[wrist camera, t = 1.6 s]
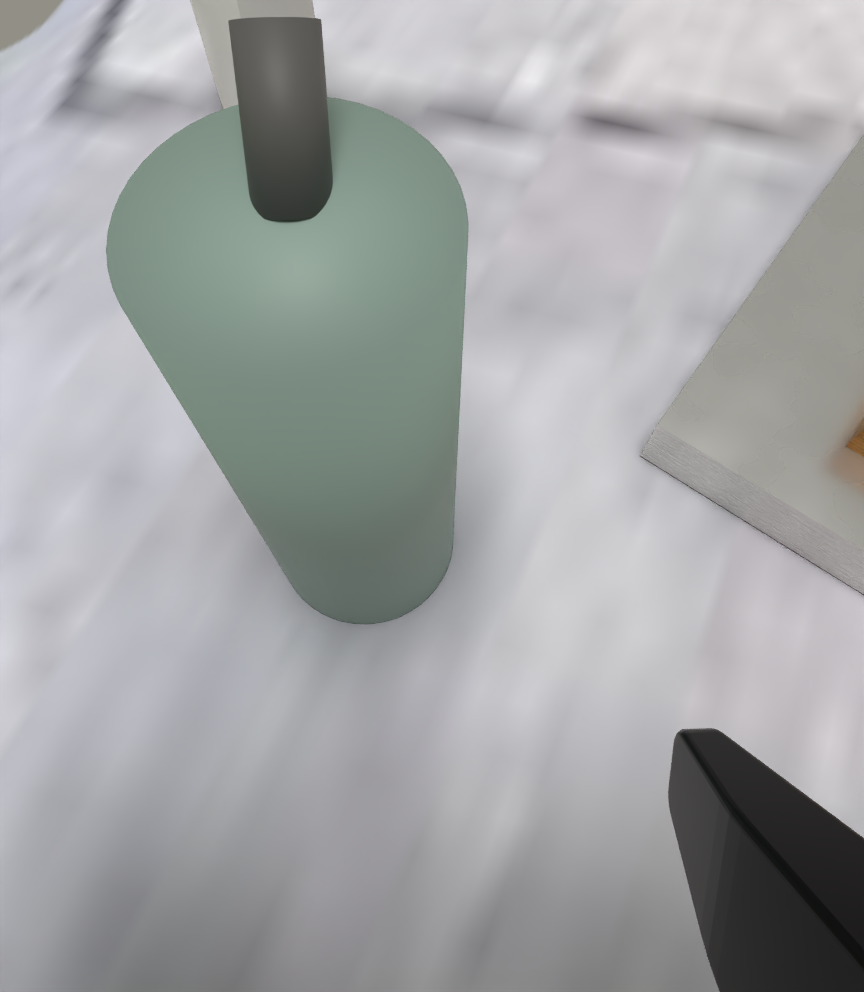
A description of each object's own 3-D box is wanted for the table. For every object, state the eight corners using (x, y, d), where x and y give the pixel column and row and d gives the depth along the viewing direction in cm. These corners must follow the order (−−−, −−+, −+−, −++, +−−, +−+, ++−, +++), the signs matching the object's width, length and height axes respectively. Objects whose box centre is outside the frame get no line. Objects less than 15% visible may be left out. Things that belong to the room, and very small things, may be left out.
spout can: (456, 621, 22) (485, 283, 8) (276, 626, 22) (6, 295, 8) (450, 458, 24) (465, -37, 10) (284, 462, 24) (76, -28, 10)
